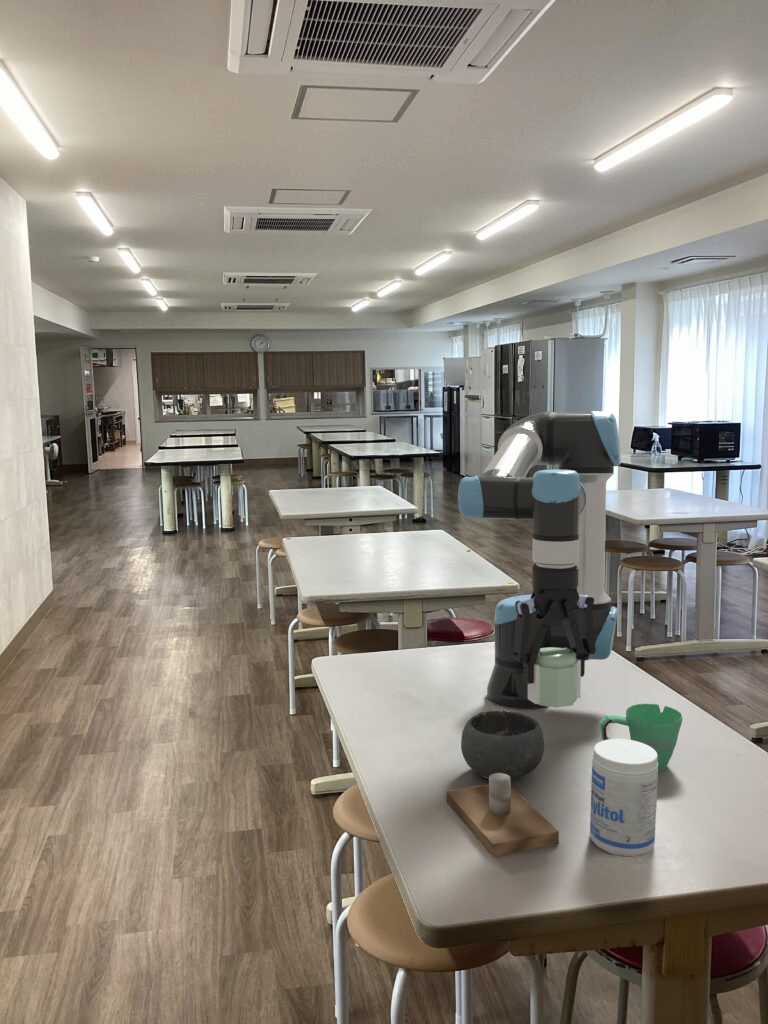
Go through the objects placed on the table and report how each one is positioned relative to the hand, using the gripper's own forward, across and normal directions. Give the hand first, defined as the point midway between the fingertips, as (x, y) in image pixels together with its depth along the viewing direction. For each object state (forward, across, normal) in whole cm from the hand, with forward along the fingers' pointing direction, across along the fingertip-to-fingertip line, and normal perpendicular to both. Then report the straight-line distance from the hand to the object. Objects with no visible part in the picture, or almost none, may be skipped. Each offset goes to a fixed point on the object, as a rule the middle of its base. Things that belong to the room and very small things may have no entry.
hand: (554, 698), depth 139 cm
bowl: (+18, +4, -10) cm, 21 cm away
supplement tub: (+18, -2, +17) cm, 24 cm away
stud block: (+17, +12, +5) cm, 22 cm away
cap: (0, 0, 0) cm, 0 cm away
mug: (+17, -21, -5) cm, 28 cm away
